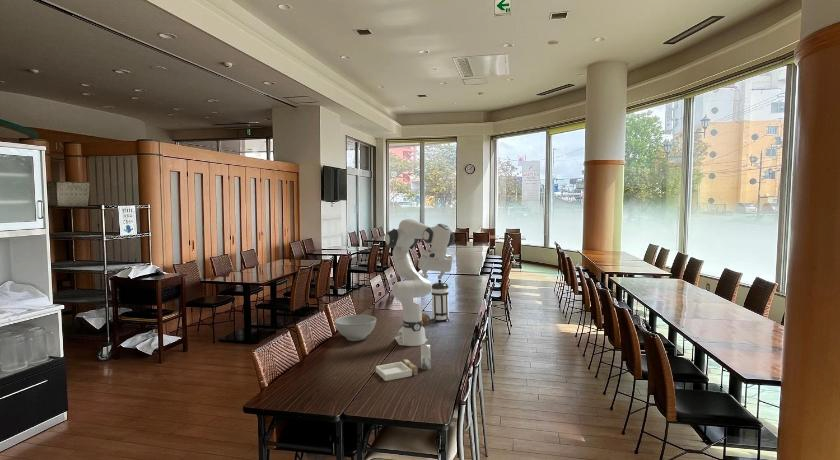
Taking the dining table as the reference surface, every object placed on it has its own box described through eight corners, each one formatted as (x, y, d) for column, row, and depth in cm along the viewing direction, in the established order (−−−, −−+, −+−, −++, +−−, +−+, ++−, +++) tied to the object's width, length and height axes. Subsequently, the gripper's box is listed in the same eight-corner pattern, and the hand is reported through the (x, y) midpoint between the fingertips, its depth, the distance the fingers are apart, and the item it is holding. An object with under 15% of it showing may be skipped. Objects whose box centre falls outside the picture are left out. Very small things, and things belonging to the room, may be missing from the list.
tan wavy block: (403, 366, 242) (402, 359, 242) (406, 366, 243) (406, 358, 243) (413, 375, 230) (413, 367, 230) (417, 374, 231) (417, 367, 230)
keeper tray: (375, 371, 236) (375, 366, 236) (401, 367, 242) (401, 361, 242) (385, 381, 224) (385, 375, 223) (412, 375, 229) (411, 370, 229)
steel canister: (419, 367, 242) (419, 344, 241) (428, 365, 244) (427, 343, 243) (423, 370, 237) (423, 347, 236) (432, 368, 239) (431, 345, 238)
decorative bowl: (382, 333, 307) (382, 315, 307) (367, 345, 282) (367, 325, 281) (345, 331, 315) (345, 313, 314) (327, 343, 289) (326, 324, 288)
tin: (409, 327, 321) (409, 315, 320) (408, 326, 324) (408, 314, 324) (430, 325, 325) (429, 313, 324) (428, 324, 328) (428, 312, 327)
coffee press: (425, 320, 338) (424, 280, 336) (440, 316, 349) (439, 277, 347) (442, 324, 326) (441, 282, 324) (457, 320, 337) (456, 279, 335)
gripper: (449, 254, 259) (444, 277, 261) (419, 251, 248) (414, 275, 249) (456, 257, 254) (450, 281, 255) (425, 253, 243) (420, 279, 244)
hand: (432, 278), depth 252 cm, fingers open, 8 cm apart
